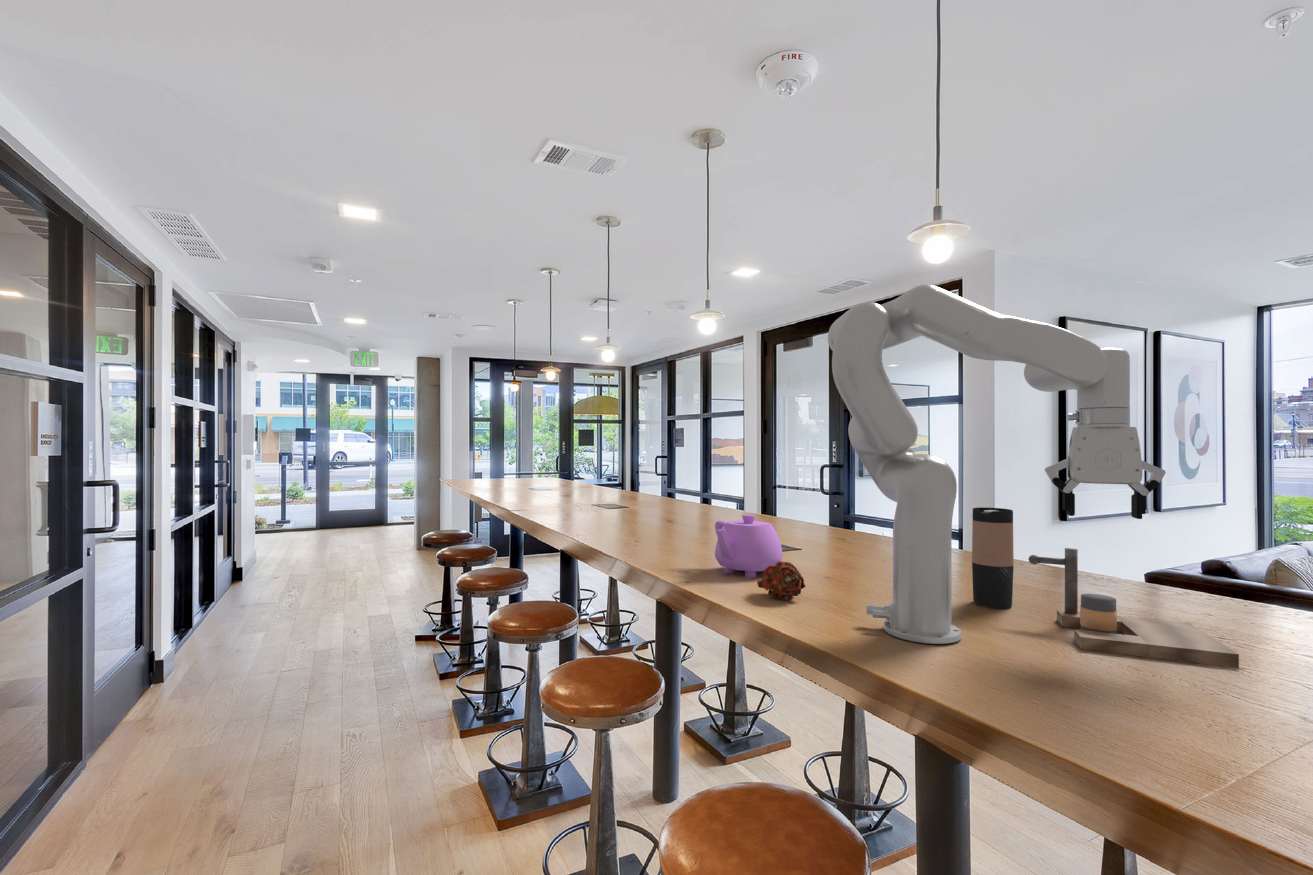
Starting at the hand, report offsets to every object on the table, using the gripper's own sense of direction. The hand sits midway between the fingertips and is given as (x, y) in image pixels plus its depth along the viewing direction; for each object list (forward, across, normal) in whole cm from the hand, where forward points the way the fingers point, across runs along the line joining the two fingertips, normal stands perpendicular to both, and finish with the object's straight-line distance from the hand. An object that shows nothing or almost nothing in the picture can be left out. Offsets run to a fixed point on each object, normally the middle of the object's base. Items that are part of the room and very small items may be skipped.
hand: (1103, 516), depth 106 cm
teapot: (+21, -72, +24) cm, 79 cm away
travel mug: (+21, -15, +16) cm, 31 cm away
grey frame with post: (+21, +2, -1) cm, 21 cm away
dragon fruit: (+21, -57, +3) cm, 61 cm away
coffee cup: (+21, -1, -1) cm, 21 cm away
